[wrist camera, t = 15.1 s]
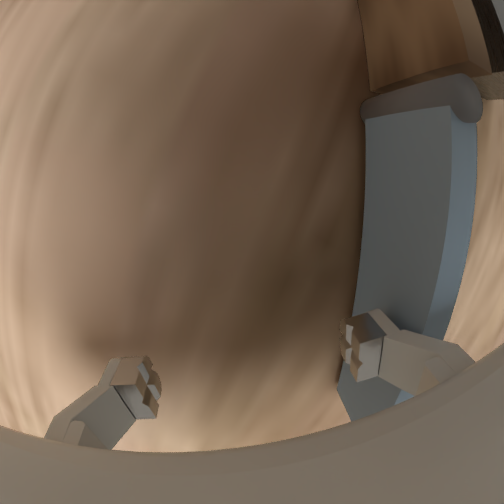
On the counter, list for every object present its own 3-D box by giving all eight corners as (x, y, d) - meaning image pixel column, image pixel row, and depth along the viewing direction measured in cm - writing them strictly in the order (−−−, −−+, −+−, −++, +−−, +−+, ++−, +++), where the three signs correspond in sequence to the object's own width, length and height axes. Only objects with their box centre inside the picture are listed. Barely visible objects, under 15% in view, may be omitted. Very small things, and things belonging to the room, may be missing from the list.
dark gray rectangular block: (413, -34, 7) (457, -63, 2) (457, -10, 7) (501, -28, 2) (444, 81, 10) (513, 70, 5) (485, 100, 10) (545, 99, 5)
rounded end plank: (386, 101, 10) (479, 82, 4) (355, 382, 14) (391, 451, 9) (359, 96, 9) (448, 66, 4) (333, 386, 14) (366, 460, 9)
